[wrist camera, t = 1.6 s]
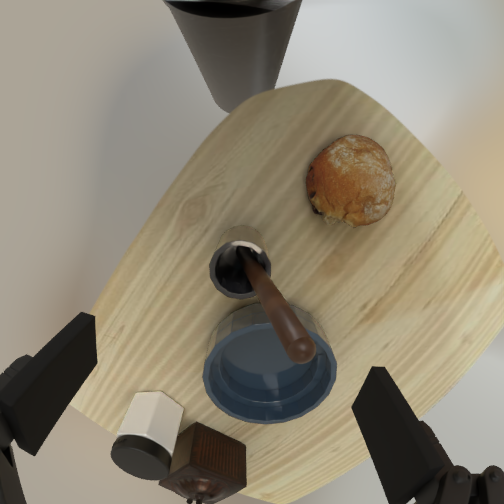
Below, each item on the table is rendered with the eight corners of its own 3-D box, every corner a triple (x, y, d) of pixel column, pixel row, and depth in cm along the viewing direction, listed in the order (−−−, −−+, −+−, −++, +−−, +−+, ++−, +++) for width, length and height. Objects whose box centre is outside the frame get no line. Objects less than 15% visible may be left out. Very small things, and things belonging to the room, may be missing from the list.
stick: (236, 242, 33) (296, 344, 14) (250, 244, 33) (324, 345, 15) (233, 255, 33) (288, 369, 15) (247, 257, 34) (315, 369, 15)
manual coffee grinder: (164, 446, 43) (143, 526, 25) (195, 419, 41) (178, 514, 23) (234, 477, 45) (231, 551, 28) (271, 454, 43) (277, 538, 26)
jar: (135, 381, 39) (108, 437, 27) (187, 398, 40) (172, 459, 28) (132, 417, 41) (110, 469, 29) (178, 432, 42) (165, 487, 30)
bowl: (219, 288, 35) (213, 310, 29) (340, 310, 36) (355, 333, 30) (202, 385, 39) (196, 414, 33) (306, 399, 40) (312, 428, 34)
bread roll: (374, 205, 36) (422, 199, 29) (321, 246, 33) (371, 247, 26) (341, 136, 34) (387, 117, 27) (281, 166, 31) (325, 146, 23)
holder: (222, 220, 33) (214, 234, 25) (271, 230, 33) (277, 247, 26) (214, 266, 34) (204, 292, 27) (260, 275, 35) (264, 304, 27)
